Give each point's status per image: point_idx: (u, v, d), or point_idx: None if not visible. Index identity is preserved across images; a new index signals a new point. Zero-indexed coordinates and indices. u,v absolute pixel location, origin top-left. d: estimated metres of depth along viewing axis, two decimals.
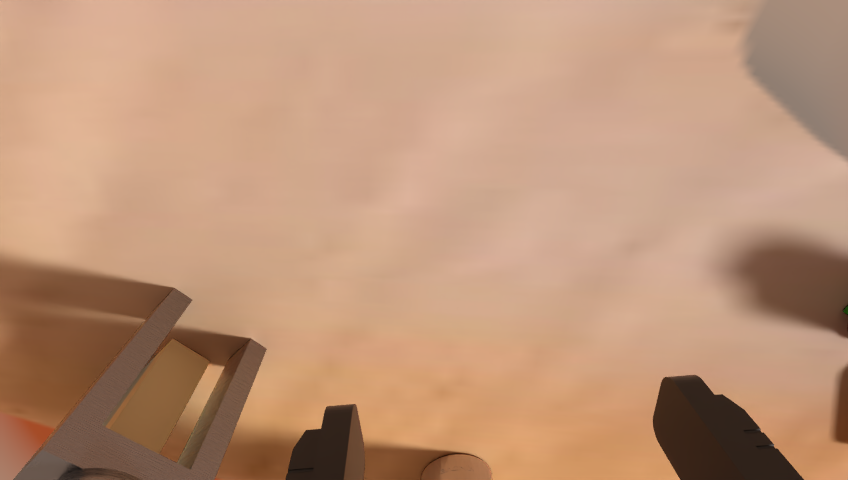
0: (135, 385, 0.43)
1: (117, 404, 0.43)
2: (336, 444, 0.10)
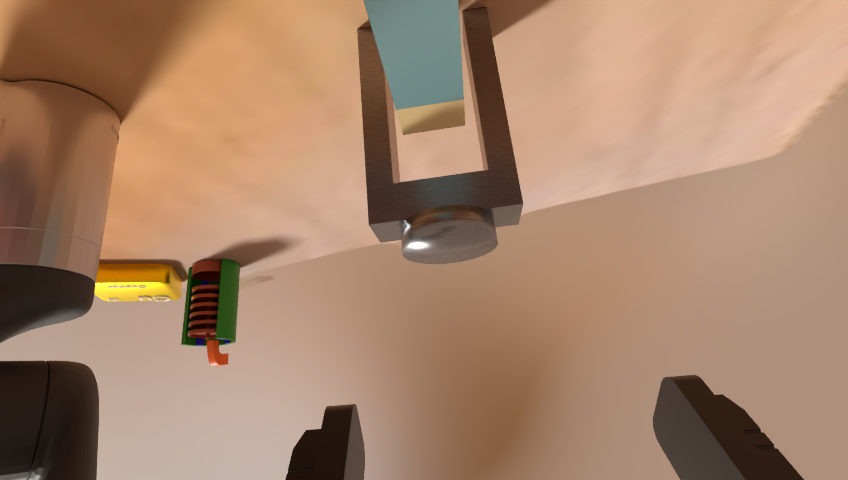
0: None
1: None
2: (336, 444, 0.10)
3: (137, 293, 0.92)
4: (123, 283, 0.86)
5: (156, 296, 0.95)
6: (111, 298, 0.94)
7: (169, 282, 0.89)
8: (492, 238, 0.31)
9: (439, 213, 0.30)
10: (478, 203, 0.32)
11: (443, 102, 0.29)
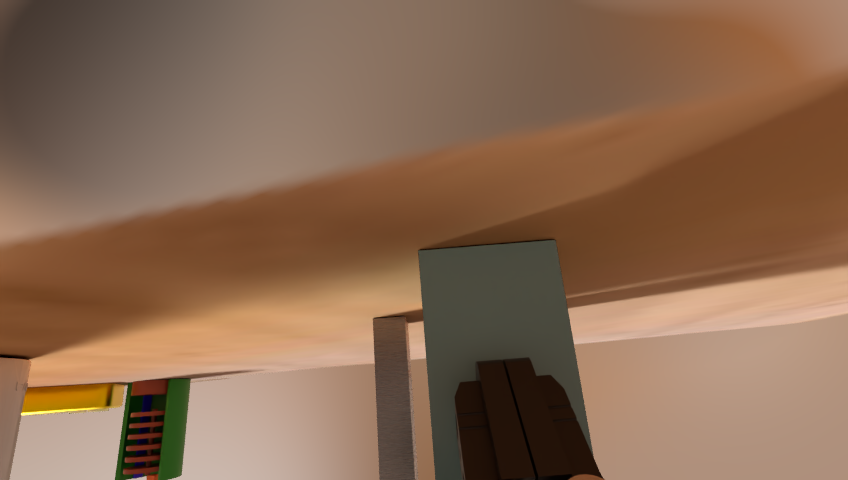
0: None
1: None
2: (500, 391, 0.11)
3: None
4: (52, 411, 0.71)
5: (92, 410, 0.81)
6: None
7: (111, 404, 0.76)
8: None
9: None
10: None
11: None
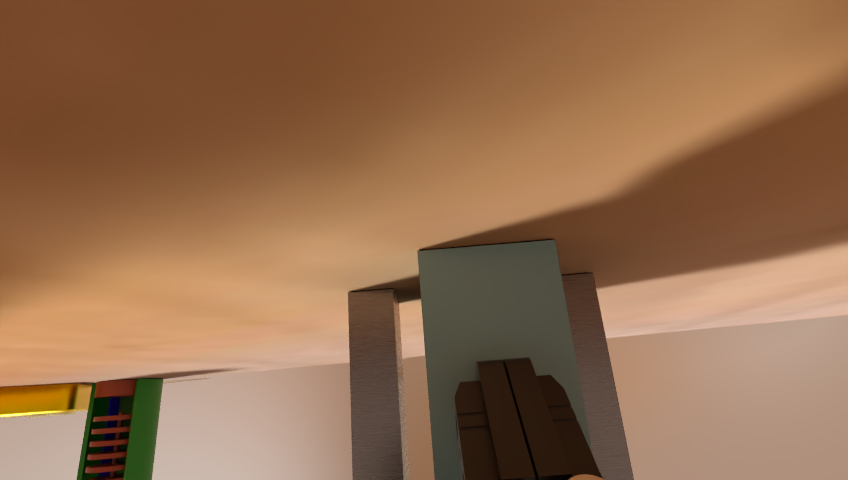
0: None
1: None
2: (500, 391, 0.11)
3: None
4: (5, 415, 0.63)
5: (55, 413, 0.73)
6: None
7: (74, 407, 0.68)
8: None
9: None
10: None
11: None
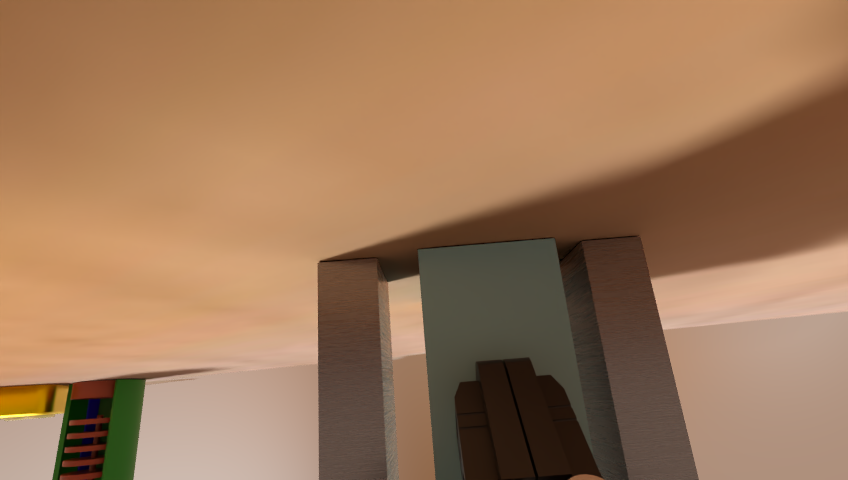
0: None
1: None
2: (500, 391, 0.11)
3: None
4: None
5: (33, 416, 0.69)
6: None
7: (52, 410, 0.63)
8: None
9: None
10: None
11: None
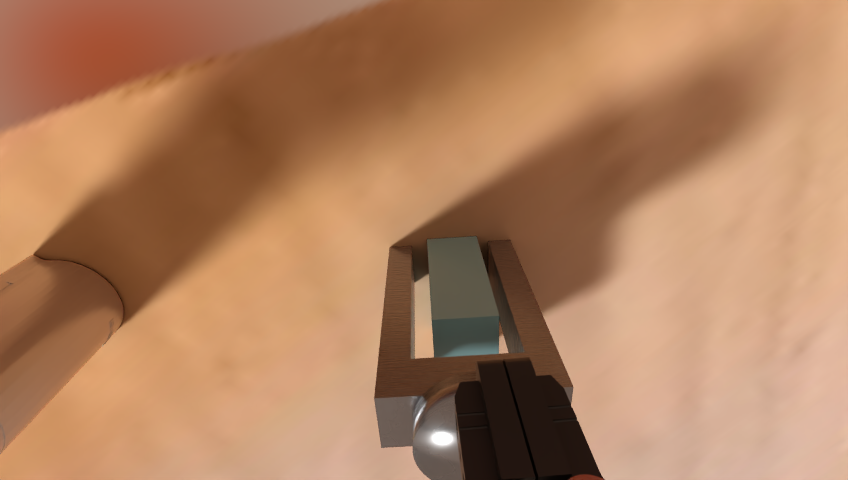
0: None
1: None
2: (500, 391, 0.11)
3: None
4: None
5: None
6: None
7: None
8: None
9: (468, 379, 0.24)
10: None
11: None
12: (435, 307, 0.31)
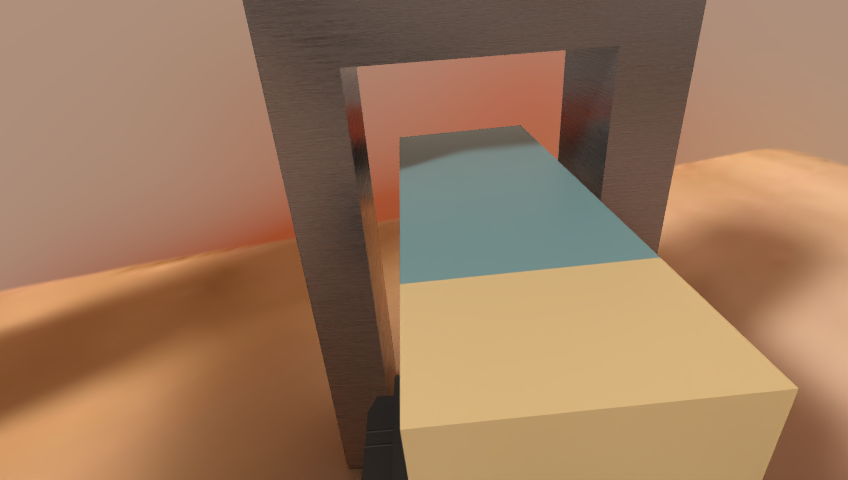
0: None
1: None
2: None
3: None
4: None
5: None
6: None
7: None
8: None
9: None
10: None
11: (580, 263, 0.08)
12: None
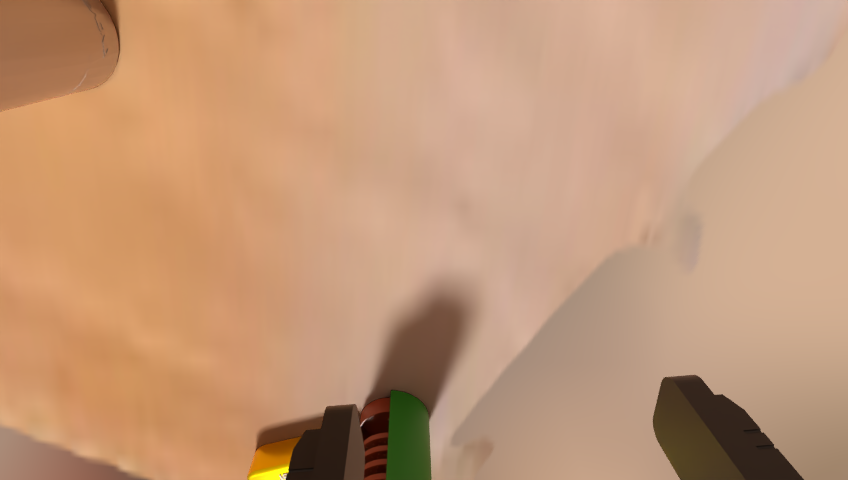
0: None
1: None
2: (336, 444, 0.10)
3: None
4: None
5: None
6: None
7: None
8: None
9: None
10: None
11: None
12: None
